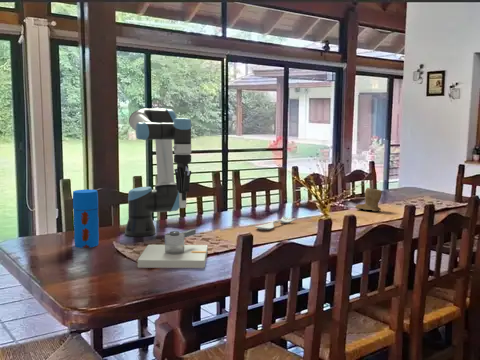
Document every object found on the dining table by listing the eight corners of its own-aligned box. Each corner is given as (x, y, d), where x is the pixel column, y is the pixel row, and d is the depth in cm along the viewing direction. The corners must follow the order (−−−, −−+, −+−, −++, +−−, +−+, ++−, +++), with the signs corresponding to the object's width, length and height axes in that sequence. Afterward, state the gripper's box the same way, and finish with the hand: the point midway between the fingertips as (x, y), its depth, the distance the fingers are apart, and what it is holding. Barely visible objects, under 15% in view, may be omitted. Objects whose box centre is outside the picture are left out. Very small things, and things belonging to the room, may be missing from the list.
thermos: (73, 248, 219) (71, 193, 216) (74, 242, 229) (73, 189, 226) (99, 247, 222) (97, 192, 219) (99, 241, 232) (97, 189, 229)
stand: (137, 267, 192) (137, 259, 192) (148, 251, 216) (148, 243, 215) (204, 268, 192) (204, 259, 192) (207, 251, 216) (207, 244, 216)
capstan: (176, 255, 198) (176, 235, 197) (160, 252, 202) (160, 232, 201) (201, 245, 214) (201, 227, 213) (186, 243, 218) (186, 225, 217)
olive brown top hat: (384, 210, 321) (385, 188, 319) (375, 213, 312) (376, 189, 310) (363, 207, 331) (364, 185, 329) (354, 210, 322) (355, 187, 320)
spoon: (297, 223, 280) (297, 217, 280) (265, 232, 255) (265, 226, 254) (283, 221, 286) (283, 215, 285) (251, 230, 260) (251, 224, 260)
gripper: (168, 153, 217) (169, 206, 220) (180, 155, 206) (181, 210, 209) (184, 152, 221) (184, 204, 224) (196, 154, 210) (196, 209, 212)
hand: (182, 207), depth 216 cm, fingers closed
